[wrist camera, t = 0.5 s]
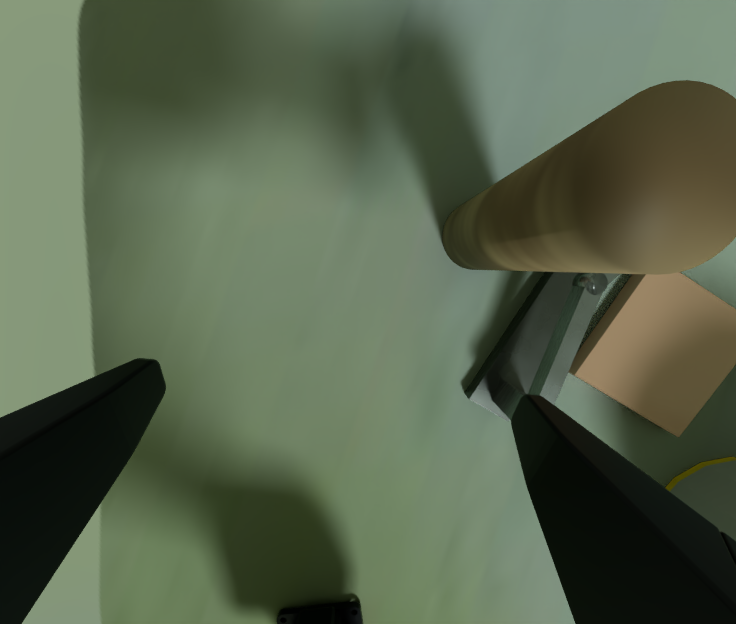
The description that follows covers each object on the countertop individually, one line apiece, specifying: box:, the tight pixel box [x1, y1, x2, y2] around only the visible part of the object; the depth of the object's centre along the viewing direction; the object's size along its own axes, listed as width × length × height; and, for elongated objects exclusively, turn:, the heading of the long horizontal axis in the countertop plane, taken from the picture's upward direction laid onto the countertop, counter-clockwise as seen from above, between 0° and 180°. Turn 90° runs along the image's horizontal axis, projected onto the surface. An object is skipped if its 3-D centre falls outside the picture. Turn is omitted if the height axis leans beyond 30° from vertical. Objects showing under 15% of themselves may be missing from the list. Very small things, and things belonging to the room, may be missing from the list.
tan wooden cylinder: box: [442, 80, 736, 275], centre depth 14 cm, size 4×4×13 cm
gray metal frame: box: [465, 272, 619, 421], centre depth 19 cm, size 19×3×4 cm, turn 149°
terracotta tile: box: [568, 272, 736, 437], centre depth 21 cm, size 9×9×1 cm
